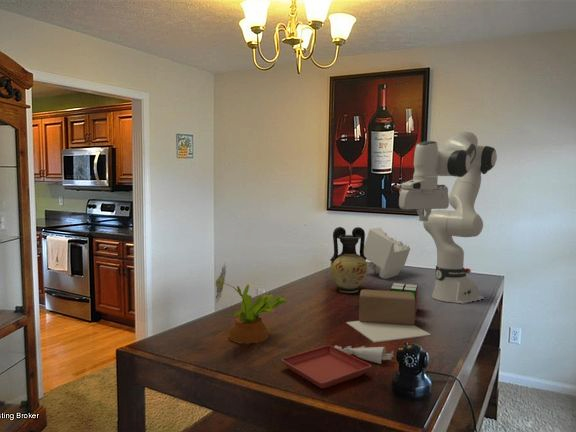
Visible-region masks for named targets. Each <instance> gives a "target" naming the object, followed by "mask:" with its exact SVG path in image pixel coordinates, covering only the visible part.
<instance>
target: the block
mask: <svg viewBox="0 0 576 432" xmlns="http://www.w3.org/2000/svg"><path fill="white" fill-rule="evenodd" d="M358 301H359V302H358V303H359V305H358V307H359V308H358V321H362V322H375V323H389V324H402V325H415V323H416V315H415V309H416V300H415V297H414V294H413V293H411V292H395V291H390V290H380V289H379V290H375V289H361V290H360V292H359V299H358Z"/></svg>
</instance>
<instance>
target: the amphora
mask: <svg viewBox="0 0 576 432" xmlns="http://www.w3.org/2000/svg"><path fill="white" fill-rule="evenodd" d="M332 232H333V233H332V238H333V239H332V240H333V241H332V243H333V255H332V256H331V258H330V259H329V261H330V267H329V268H330V275H331V276H332V279H333V281H334V282H335V283H336V285H337V286H338V291H339V292H341V293H347V294H352V293H354V294H355V293H357V292H359V288H358V287H359V286H360V285H361V284H363V282H364V280H365V278H366V276H367V274H368V273H367V272H368V263H367V258H366V257H365V256H364V245H365V242H366V233H365V230H364V228H362V227H360V226H356V227H354V228H353V229H352V230H351V234H347V231H346V229H345V228H344V227H342V226H338V227H336V228H334V230H333V231H332ZM338 239H339V242H340V243H341V244H342V245H341V246H342V250H341V253H339V246H338V244H339V243H338ZM359 240H360V242H359ZM358 243H359V254H358V253H357V249H356V246H357V244H358Z"/></svg>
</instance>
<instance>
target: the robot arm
mask: <svg viewBox="0 0 576 432" xmlns="http://www.w3.org/2000/svg"><path fill="white" fill-rule="evenodd" d="M478 144H479V142H478V138H477V135H475V133H473V132H472V131H463V132H458V133H456V134H454V135H452V136H451V137H449V138H448V139H447V140H446V142H445V143H444V146H443V150H439V147H438V142H437V141H434V140H427V141H420V142H418V143H416V146H415V149H414V157H413V167H414V172H413V175H412V176H413V177H412V179H410V180H408V181H404V182H402V183H401V184H400V188H401V190H400V192H399V193H400V194H399V199H398V206H399V208H400V209H401V210H416V213H417V215H418V221H419V222H422V225H423V228H424V229H425V232H427V233H428V234H429V235H430V236H431V237H432V239H433V240H434V244H435V247H436V257H437V258H436V265H435V271H434V272H435V283H434V286H433V291H432V294H431V298H432V299H434V300H437V301H440V302H445V303H446V302H447V303H454V304H455V303H456V304H460V303H461V305H462V304H463V305H464V304H469V303H473V302H472V301H474V302H478V301H477V300H479V301H482V300H481V299H484V300H485V297H484V296H483V295H481V294H479V288H478V285H477V283H476V282H475V281H473V280H472V279H471V278H470V277H468V276H467V274H471V272H472V270H471V268H467V267H466V268H465V267H464V259H465V252H464V249H463V248H462V246H460V245H459V244H457V243H456V242H455V241H454V239H453V237H459V238H460V237H461V238H474V237H478V236H479V235H480V234H481V233H482V231H483V228H484V221H483V219H482V217H481V215H480V214H478V213H477V212H476V209H475V203H476V200H477V197H478V195H479V192H480V188H481V183H482V175H486V174H488V172H489V171H490V170H492V169H493V168H494V167H495V165H496V162H497V158H498V156H497V151H496V149H495V147H494V146H493V147H492V146H489V145H485V146H484V145H478ZM439 177H455V178H456V177H457V178H456V179H455V181H454V184H453V185H452V188H451V191H450V193H449V187H448V186H447V185H446V184H438V179H439ZM449 206H451V208H453V209H454V210H446V209H448V208H449ZM424 212H425V213H424ZM423 213H424V215H423ZM468 302H469V303H468Z"/></svg>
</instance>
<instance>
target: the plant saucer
mask: <svg viewBox="0 0 576 432" xmlns="http://www.w3.org/2000/svg"><path fill="white" fill-rule="evenodd" d="M281 362H282V363H283V364H284V365H285V366H286V367H287V368H288V369H289V370H290V369H291V370H292V371H291V370H290V371H291V372H293V371H294V372H293V373H294V374H296V373H297V374H296V375H298V376H300V377H301V376H302V377H301V378H302V379H304V378H305V379H304V380H306V379H307V380H306V381H308V382H309V381H310V382H309V383H311V382H312V383H311V384H313V385H314V384H315V385H314V386H316V387H317V386H318V387H317V388H319V387H320V388H319V389H321V388H325V389H327V387H328V388H330V387H333V386H336V385H338V383H339V384H341V382H342V383H345V382H347V381H350V380H352V379H355V378H358V377H361V376H363V375H364V374H365V373H366V372H367V371H368V370H369V369H370V368H371V367H372V365H371V364H370V363H368V362H367V361H364V360H363V359H361V358H360V359H359V357H357V356H354V355H352V354H350V355H349V354H347V353H345V352H343V351H341V350H339V349H337V348H335V346H332V345H331V344H327V345H324V346H320V347H317V348H313V349H310V350H307V351H303V352H299V353H296V354H293V355H290V356H286V357H283V358H281ZM332 385H333V386H332Z"/></svg>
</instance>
